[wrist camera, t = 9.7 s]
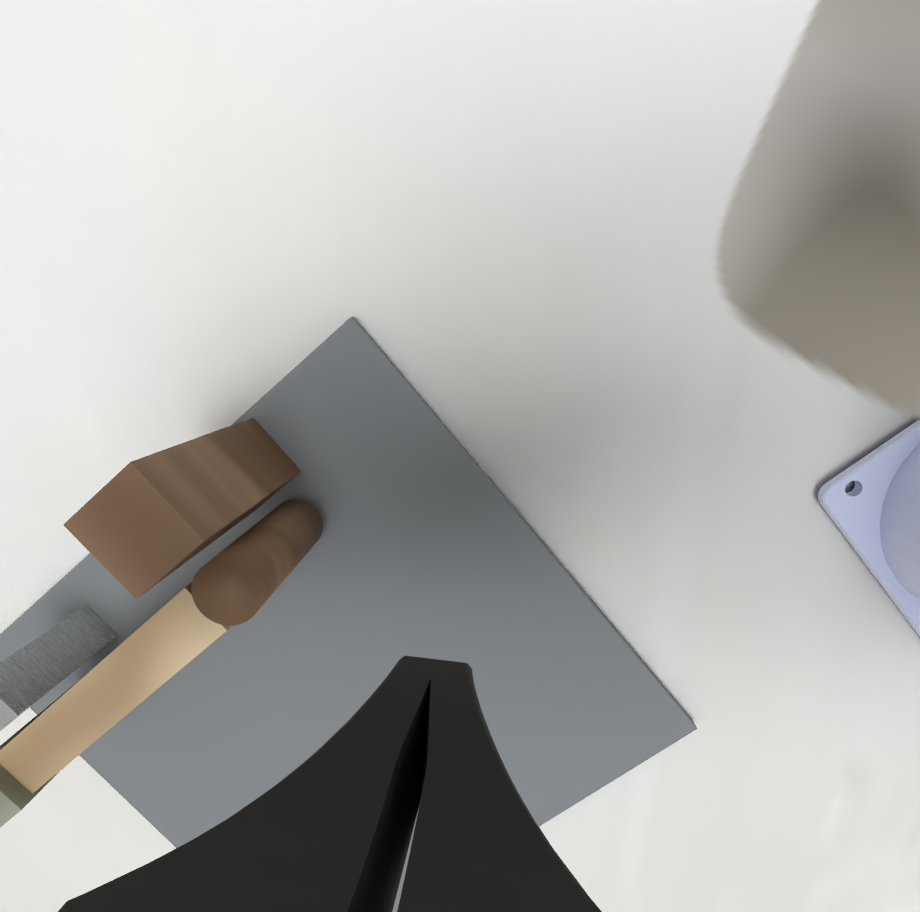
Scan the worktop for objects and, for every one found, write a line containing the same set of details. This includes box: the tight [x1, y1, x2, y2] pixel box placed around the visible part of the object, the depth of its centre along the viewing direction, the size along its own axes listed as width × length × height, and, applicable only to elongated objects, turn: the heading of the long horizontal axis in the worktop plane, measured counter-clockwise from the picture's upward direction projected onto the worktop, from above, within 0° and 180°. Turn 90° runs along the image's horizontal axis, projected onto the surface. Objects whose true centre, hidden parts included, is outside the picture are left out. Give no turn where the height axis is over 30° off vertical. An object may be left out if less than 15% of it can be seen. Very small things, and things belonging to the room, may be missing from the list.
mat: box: [0, 317, 697, 912], centre depth 22 cm, size 20×19×1 cm
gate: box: [0, 500, 323, 827], centre depth 18 cm, size 2×12×5 cm, turn 131°
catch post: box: [0, 604, 118, 731], centre depth 19 cm, size 2×2×5 cm
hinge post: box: [64, 418, 301, 599], centre depth 17 cm, size 2×2×7 cm
